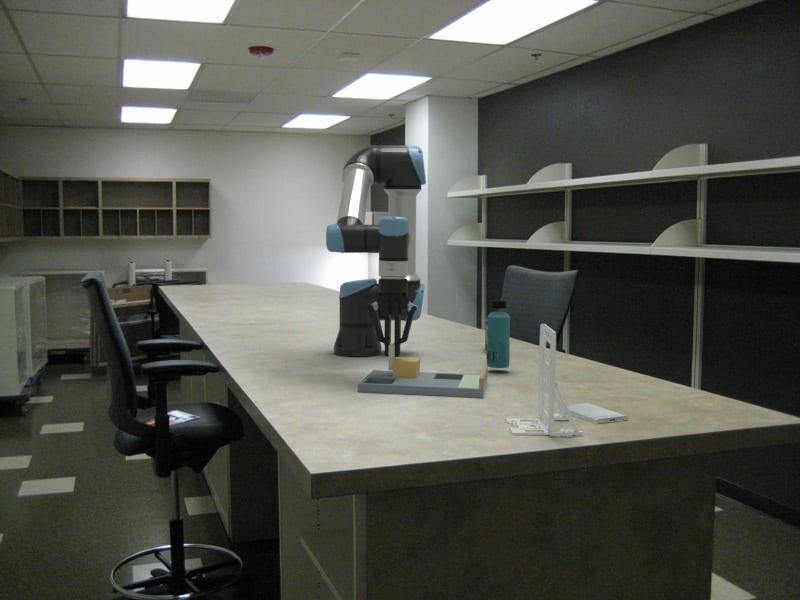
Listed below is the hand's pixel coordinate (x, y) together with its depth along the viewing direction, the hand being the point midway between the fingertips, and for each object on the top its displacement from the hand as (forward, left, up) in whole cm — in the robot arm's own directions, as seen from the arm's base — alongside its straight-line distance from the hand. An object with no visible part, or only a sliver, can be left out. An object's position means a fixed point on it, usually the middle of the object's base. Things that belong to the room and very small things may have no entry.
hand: (392, 369), depth 192 cm
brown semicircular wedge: (+24, +56, -4) cm, 61 cm away
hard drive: (+48, -25, -4) cm, 54 cm away
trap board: (+9, -4, -3) cm, 11 cm away
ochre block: (+4, 0, -1) cm, 4 cm away
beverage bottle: (+26, +21, -4) cm, 33 cm away
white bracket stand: (+37, -37, -4) cm, 53 cm away
